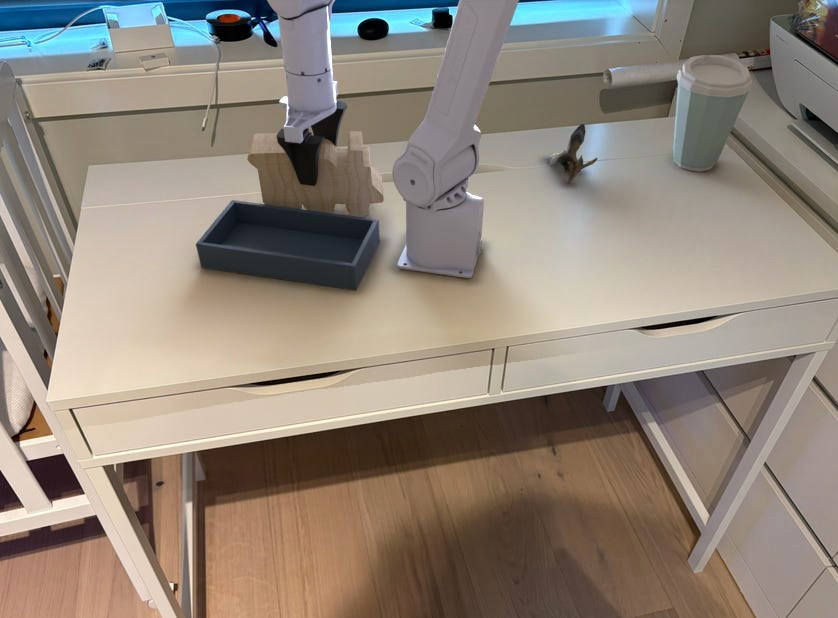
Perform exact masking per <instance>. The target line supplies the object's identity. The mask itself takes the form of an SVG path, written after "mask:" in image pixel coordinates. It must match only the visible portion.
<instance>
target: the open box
mask: <svg viewBox="0 0 838 618" xmlns="http://www.w3.org/2000/svg"><path fill="white" fill-rule="evenodd" d="M379 244H380V220H379V219H378V218H370V217H356V216H351V215H350V214H349V215H347V214H342V213H341V214H340V213H334V212H333V213H326V212H319V211H311V210H306V209H305V208H304V209H303V208H301V209H296V208H289V207H281V206H274V205H267V204H264V203H259V202H252V201H251V202H250V201H244V200H243V201H242V200H236V199H231V201H230V202H229V203H228V204H227V205H226V206H225V208H224V209H223V210H222V212H221V213H220V214H219V215H218V216H217V218H216V219H215V220H214V221H213V222H212V224H210V226H209V227H208V228H207V230H206V231H205V232H204V233H203V234H202V236H201V237H200V238H199V239H198V240H197V242H196V243H195V247H196V252H197V255H198V260H199V264H200V268H201V269H207V270H212V271H219V272H226V273H227V272H228V273H232V274H233V273H235V274H241V275H248V276H254V277H255V276H256V277H262V278H267V279H274V280H275V279H276V280H282V281H288V282H295V283H303V284H308V285H316V286H321V287H322V286H323V287H329V288H336V289H344V290H350V291H357V290H358V288H359V286H360V284H361V283H362V279H363V278H364V275H365V274H366V272H367V269H368V268H369V266H370V264H371V261H372V259H373V257H374V255H375V253H376V251H377V249H378V247H379Z"/></svg>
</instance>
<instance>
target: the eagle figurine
mask: <svg viewBox="0 0 838 618" xmlns="http://www.w3.org/2000/svg"><path fill="white" fill-rule="evenodd" d="M586 132H587V131H586V126H585V123H580V124H579V125H578V126H577V127H576V128H575V130H573V132H572V133H571V134H570V137H569V140H568V143H567V146H566V150H562V151H561V152H560V151H558V152H554V153H551V154H549V155H548V156H547V157H545V158H544V161H545V162H546V164H548V165H550V166H553V165H556V164H557V163H559V164H560V165H561V166H562V168H563V170H564V171H563V173H564V174H567V175H568V177H567V181H566V184H567V185H570V184H571V182H572V181H573V180H574V178H576V175H578V173H580V174H582V173H583V171H582V170H583V169H585V168H587V167H590V166H592V165H594V164H595V163H596V162H597V160H599V158H598V157H595V158H593V159H591V160H590V161H588V162H586V163H584V158H583V155H582V154H581V155H580V157H579V158H577V152H578V151H579V149H580V147H581V146H582V145H583V143H584V141H585V137H586Z"/></svg>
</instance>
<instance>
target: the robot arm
mask: <svg viewBox="0 0 838 618" xmlns="http://www.w3.org/2000/svg"><path fill="white" fill-rule="evenodd" d="M266 1H267V3H268V4H269V6H270V7H271V9H272V10H273V11H274V12H275V14H277V19H278V20H277V21H278V27H279V28H278V29H279V36H280V46H281V53H282V55H281V56H282V62H283V71H284V77H285V78H284V79H285V80H284V81H285V88H286V95H285V96H282V97H281V98H280V100H278V105H279V107H280V108H283V109H286V117H285V118H286V119H285V120H286V121H285V124H284V125H283V128H281V129H280V130H279V131H278V132H277V133H278V134H277V141H278V144H279V145H280V146H281V147H282V148H283V149H284V151H285V152H286V154H287V155H288V157H289V159H290V161H291V163H292V165H293V167H294V170H295V173H296V175H297V178H298V180H299V182H300V184H302V185H309V186H315V185H316V184H317V179H318V162H319V154H320V149H321V146H322V143H323V141H324V139H327V140H329V141H331V142H332V143H333V144H334V145H335V146H336V148H338V147H337V146H338V139H339V133H340V129H341V128H340V127H341V124H342V121H343V118H344V116H345V113H346V110H347V108H348V104H347V102H346V101H343V100H337V98H338V96H339V95H338V94H339V93H338V81H336V80H334V73H333V61H332V59H333V58H332V47H331V32H330V23H331V19H333V13H332V12H333V11H332V9H333V4H334V3H335V1H336V0H266ZM519 2H520V0H459V1H458V4H457V8H456V11H455V15H454V18H453V21H452V25H451V29H450V32H449V36H448V39H447V42H446V46H445V49H444V53H443V56H442V59H441V62H440V66H439V70H438V73H437V77H436V79H435V82H434V83H435V84H434V86H433V90H432V94H431V97H430V100H429V101H430V102H429V105H428V107H427V108H428V109H427V111H426V114H425V117H424V119H423V121H422V122H421V123H420V124H419V125H418V127H417V128H416V129H415V131H413V133H412V135H411V136H410V138H409V139H408V140H407V144H406V146H405V149H404V151H403V153H402V154H400V156H397V158H396V160H395V161H394V163H393V165H392V170H391V171H392V172H391V173H392V181H393V183H394V186H395V189H396V190H397V192H398V194H399V195H400V196H401V197H402V200H403V201H404V202H405V245H404V248H403V250H402V252H401V255H400V257H399V259H398V261H397V264H396V265H397V269H400V270H406V271H407V270H408V271H415V272H422V273H429V274H435V275H443V276H450V277H456V278H464V279H472V278H473V275H474V272H475V269H476V265H477V262H478V258H479V255H481V251H482V246H483V240H482V236H483V235H482V233H483V232H482V231H483V222H484V221H483V220H484V204H485V202H484V201H485V200H484V198H483V197H481V196H477V195H474V194H471V193H470V192H467V189H468V187H469V177H471V176H473V175H474V174H475V173H476V171H477V170H478V167H479V164H480V151H479V146H480V141H481V139H482V131H481V130H480V129H479V128H478V126H477V125H476V122H477V120H478V117H479V114H480V111H481V108H482V105H483V103H484V101H485V97H486V95H487V92H488V88H489V85H490V83H491V81H492V77H493V74H494V72H495V69H496V66H497V64H498V61H499V57H500V56H501V52H502V49H503V47H504V43H505V41H506V38H507V35H508V32H509V29H510V26H511V24H512V21H513V18H514V16H515V12H516V10H517V7H518V4H519ZM310 127H311V130H312V131H310Z"/></svg>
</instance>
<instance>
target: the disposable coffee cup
mask: <svg viewBox="0 0 838 618" xmlns="http://www.w3.org/2000/svg"><path fill="white" fill-rule="evenodd" d="M676 81H677V93H676V105H675V106H676V107H675V119H674V132H673V145H672V157H673V162H674V164H675V165H676V166H677V167H679V168H680V169H683V170H687V171H689V172H705V171H710V170H711V169H712V168H713V167H714V166H715V164H716V163H718V161H719V160H720V159H719V158H720V156H721V154H722V151H723V150H724V148H725V146H726V143H727V141H728V139H729V137H730V134H731V132H732V130H733V128H734V126H735V123H736V121H737V118H738V117H739V115H740V112H741V110H742V108H743V106H744V103H745V101H746V99H747V97H748V94H749V92H750V91H751V90H752V89H753V88H752V87H753V79H752V77H751V73H750V71H749V68H748V67H747V66H745V65H744V64H743V63H742V62H740V61H739V60H736V59H734V58H731V57H728V56H724V55H716V54H701V55H694V56H691V57H689V58H688V59H687V60H686V61H685V62H684V63H683V65H682V67H681V68H680V69H678V71H677V75H676Z"/></svg>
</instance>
